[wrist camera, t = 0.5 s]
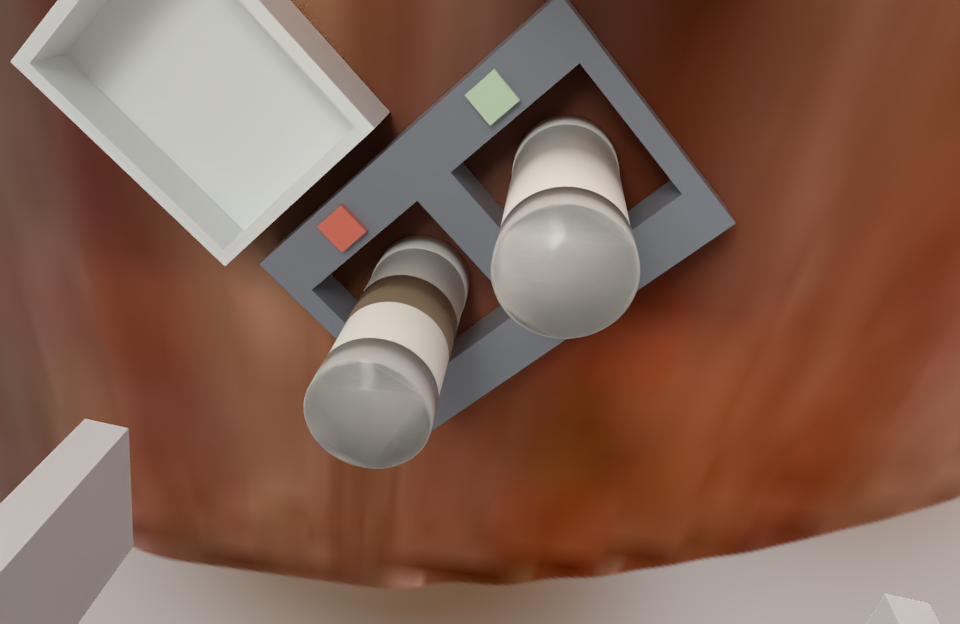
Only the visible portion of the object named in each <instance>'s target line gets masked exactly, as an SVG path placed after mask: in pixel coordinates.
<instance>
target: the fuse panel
mask: <svg viewBox="0 0 960 624" xmlns="http://www.w3.org/2000/svg"><path fill="white" fill-rule="evenodd" d="M579 63H580V64H581V66H582V67H583V68H584V69H585V71H586V72H587V73H588V74H589V76H590V77H591V78H592V80H593V81H594V82H595V83H596V85H597V86H598V87H599V89H600V90H601V91H602V92H603V94H604V95H605V96H606V98H607V99H608V100H609V101H610V103H611V104H612V105H613V107H614V108H615V109H616V110H617V112H618V113H619V114H620V115H621V117H622V118H623V119H624V121H625V122H626V123H627V124H628V126H629V127H630V128H631V130H632V131H633V132H634V133H635V135H636V136H637V137H638V139H639V140H640V141H641V142H642V144H643V145H644V146H645V147H646V149H647V150H648V151H649V153H650V154H651V155H652V156H653V158H654V159H655V160H656V162H657V163H658V164H659V165H660V167H661V168H662V169H663V171H664V172H665V173H666V174H667V176H668V177H669V178H670V181H668V182H667V183H666V184H664V185H663V186H661V187H660V188H659V189H657V190H656V191H655V192H653V193H652V194H651V195H649V196H648V197H646V198H645V199H644V200H642V201H641V202H640V203H638V204H637V205H636V206H634V207H633V208H631V209H630V210H629V211H627V212H628V217H629V221H630V226H631V228H632V231H633V234H634V237H635V242H636V246H637V251H638V256H639V261H640V280H639V285H638V289H637V291H638V290H639V289H640V288H642V287H643V286H645V285H646V284H648V283H649V282H651V281H652V280H654V279H655V278H657V277H658V276H659V275H661V274H662V273H664V272H665V271H667V270H668V269H670V268H671V267H673V266H674V265H676V264H677V263H679V262H680V261H681V260H683V259H684V258H686V257H687V256H689V255H690V254H692V253H693V252H695V251H696V250H698V249H699V248H700V247H702V246H703V245H705V244H706V243H708V242H709V241H711V240H712V239H714V238H715V237H717V236H718V235H720V234H721V233H722V232H724V231H725V230H727V229H728V228H730V227H731V226H733V225H734V224H736V223H735V221H734V220H733V218H732V216H731V214H730V213H729V211H728V209H727V207H726V205H725V204H724V203H723V201H722V200H721V199H720V197H719V196H718V195H717V193H716V192H715V191H714V189H713V188H712V187H711V186H710V184H709V183H708V182H707V180H706V179H705V178H704V176H703V175H702V174H701V172H700V171H699V170H698V169H697V167H696V166H695V165H694V163H693V162H692V161H691V159H690V158H689V157H688V155H687V154H686V153H685V151H684V150H683V149H682V148H681V146H680V145H679V144H678V142H677V141H676V140H675V138H674V137H673V136H672V134H671V133H670V132H669V131H668V129H667V128H666V127H665V125H664V124H663V123H662V121H661V120H660V119H659V117H658V116H657V115H656V113H655V112H654V111H653V110H652V108H651V107H650V106H649V104H648V103H647V102H646V100H645V99H644V98H643V96H642V95H641V94H640V93H639V91H638V90H637V89H636V87H635V86H634V85H633V83H632V82H631V81H630V79H629V78H628V77H627V75H626V74H625V73H624V72H623V70H622V69H621V68H620V66H619V65H618V64H617V62H616V61H615V60H614V58H613V57H612V56H611V55H610V53H609V52H608V51H607V49H606V48H605V47H604V45H603V44H602V43H601V41H600V40H599V39H598V37H597V36H596V35H595V34H594V32H593V31H592V30H591V28H590V27H589V26H588V24H587V23H586V22H585V20H584V19H583V18H582V17H581V15H580V14H579V13H578V11H577V10H576V9H575V7H574V6H573V5H572V3H571V2H570V1H569V0H548V1H547V2H546V3H544V4H543V5H542V6H541V7H540V8H539V9H538V10H537V11H536V12H534V13H533V14H532V15H531V16H530V17H529V18H528V19H527V20H526V21H525V22H523V23H522V24H521V25H520V26H519V27H518V28H517V29H516V30H515V31H513V32H512V33H511V34H510V35H509V36H508V37H507V38H506V39H505V40H503V41H502V42H501V43H500V44H499V45H498V46H497V47H496V48H495V49H493V50H492V51H491V52H490V53H489V54H488V55H487V56H486V57H485V58H484V59H482V60H481V61H480V62H479V63H478V64H477V65H476V66H475V67H474V68H472V69H471V70H470V71H469V72H468V73H467V74H466V75H465V76H464V77H462V78H461V79H460V80H459V81H458V82H457V83H456V84H455V85H454V86H452V87H451V88H450V89H449V90H448V91H447V92H446V93H445V94H444V95H443V96H441V97H440V98H439V99H438V100H437V101H436V102H435V103H434V104H433V105H431V106H430V107H429V108H428V109H427V110H426V111H425V112H424V113H423V114H421V115H420V116H419V117H418V118H417V119H416V120H415V121H414V122H413V123H411V124H410V125H409V126H408V127H407V128H406V129H405V130H404V131H403V132H401V133H400V134H399V135H398V136H397V137H396V138H395V139H394V140H393V141H392V142H390V143H389V144H388V145H387V146H386V147H385V148H384V149H383V150H382V151H380V152H379V153H378V154H377V155H376V156H375V157H374V158H373V159H372V160H370V161H369V162H368V163H367V164H366V165H365V166H364V167H363V168H362V169H360V170H359V171H358V172H357V173H356V174H355V175H354V176H353V177H352V178H351V179H349V180H348V181H347V182H346V183H345V184H344V185H343V186H342V187H341V188H339V189H338V190H337V191H336V192H335V193H334V194H333V195H332V196H331V197H329V198H328V199H327V200H326V201H325V202H324V203H323V204H322V205H321V206H319V207H318V208H317V209H316V210H315V211H314V212H313V213H312V214H311V215H309V216H308V217H307V218H306V219H305V220H304V221H303V222H302V223H301V224H300V225H298V226H297V227H296V228H295V229H294V230H293V231H292V232H291V233H290V234H288V235H287V236H286V237H285V238H284V239H283V240H282V241H281V242H280V243H278V244H277V245H276V247H275V248H274V249H273V250H272V251H271V252H270V253H269V254H268V255H267V256H266V258H265V259H264V260H263V261H262V262H261V263H260V264H259V265H260V266H261V267H262V268H263V269H264V270H265V271H266V272H268V273H269V274H270V275H271V276H272V277H273V278H274V279H275V280H276V281H277V282H278V283H279V284H280V285H281V286H282V287H283V288H284V289H285V290H286V291H287V292H288V293H289V294H290V295H291V296H292V297H293V298H294V299H295V300H296V301H297V302H298V303H299V304H300V305H301V306H303V307H304V308H305V309H306V310H307V311H308V312H309V313H310V314H311V315H312V316H313V317H314V318H315V319H316V320H317V321H318V322H319V323H320V324H321V325H322V326H323V327H324V328H325V329H326V330H327V331H328V332H329V333H330V334H331V335H332V336H333V337H334V338H335V339H336V340H337V338H338V336H339V334H340V332H341V331H342V328H343V326H344V324H345V322H346V321H347V319H348V317H349V315H350V313H351V312H352V310H353V308H354V306H355V304H356V303H357V301H358V300H357V299H356V298H355V297H354V296H353V295H352V294H351V293H350V292H349V291H348V290H347V289H346V288H345V287H344V286H343V285H342V284H341V283H340V282H339V281H338V280H337V279H336V278H335V277H334V276H333V275H332V274H331V273H332V272H333V271H335V270H336V269H337V268H338V267H339V266H341V265H342V264H343V263H344V262H345V261H346V260H348V259H349V258H350V257H351V256H352V255H354V254H355V253H356V252H357V251H358V250H359V249H361V248H362V247H363V246H364V245H365V244H367V243H368V242H369V241H370V240H371V239H372V238H374V237H375V236H376V235H377V234H378V233H380V232H381V231H382V230H383V229H384V228H385V227H387V226H388V225H389V224H390V223H391V222H393V221H394V220H395V219H396V218H397V217H398V216H400V215H401V214H402V213H403V212H404V211H406V210H407V209H408V208H409V207H410V206H411V205H413V204H414V203H415V202H416V201H418V202H419V203H420V204H421V205H422V206H423V208H424V209H425V210H426V211H427V212H428V213H429V214H430V215H431V216H432V217H433V218H434V220H435V221H436V222H437V223H438V224H439V225H440V226H441V227H442V228H443V229H444V230H445V232H446V233H447V234H448V235H449V236H450V237H451V238H452V239H453V240H454V241H455V242H456V244H457V245H458V246H459V247H460V248H461V249H462V250H463V251H464V252H465V253H466V254H467V256H468V257H469V258H470V259H471V260H472V261H473V262H474V263H475V264H476V265H477V266H478V268H479V269H480V270H481V271H482V272H483V273H484V274H485V275H486V276H487V277H488V278H489V280H490V281H491V261H492V256H493V251H494V247H495V242H496V238H497V235H498V232H499V229H500V227H501V222H502V218H503V213H504V209H503V208H502V207H501V205H500V204H499V203H498V202H497V201H496V200H495V199H494V198H493V196H492V195H491V194H490V193H489V192H488V191H487V190H486V188H485V187H484V186H483V185H482V184H481V183H480V182H479V180H478V179H477V178H476V177H475V176H474V175H473V174H472V172H471V171H470V170H469V169H468V168H467V167H466V166H465V164H464V163H463V161H465V160H466V159H467V158H468V157H469V156H471V155H472V154H473V153H474V152H475V151H476V150H478V149H479V148H480V147H481V146H482V145H484V144H485V143H486V142H487V141H488V140H489V139H491V138H492V137H493V136H494V135H495V134H497V133H498V132H499V131H500V130H501V129H502V128H504V127H505V126H506V125H507V124H508V123H510V122H511V121H512V120H513V119H514V118H515V117H517V116H518V115H519V114H520V113H521V112H523V111H524V110H525V109H526V108H527V107H528V106H530V105H531V104H532V103H533V102H534V101H536V100H537V99H538V98H539V97H540V96H541V95H543V94H544V93H545V92H546V91H547V90H549V89H550V88H551V87H552V86H553V85H554V84H556V83H557V82H558V81H559V80H560V79H562V78H563V77H564V76H565V75H566V74H567V73H569V72H570V71H571V70H572V69H573V68H575V67H576V66H577V65H578V64H579ZM491 282H492V281H491ZM564 340H566V339H558V338H551V337H546V336H542V335H539V334H536V333H534V332H531V331H529V330H527V329H526V328H524V327H522V326H521V325H519V324H518V323H517V322H515V321H514V320H513V319H512V318H511V317H510V316H509V315H508V314H507V313H506V312H505V310H504V309H503V308H502V306H501V305H499V306H498V307H497V308H495V309H494V310H493V311H491V312H490V313H488V314H487V315H486V316H484V317H483V318H482V319H480V320H479V321H478V322H476V323H475V324H473V325H472V326H471V327H469V328H468V329H467V330H465V331H464V332H463V333H461V334H460V335H458V336H457V337H456V338H455V341H454V345H453V348H452V352H451V356H450V360H449V363H448V367H447V370H446V372H445V376H444V380H443V384H442V387H441V391H440V395H439V400H438V407H437V411H436V414H435V418H434V422H433V426H432V429H431V431H433V430H434V429H436V428H437V427H438V426H440V425H441V424H443V423H444V422H446V421H447V420H449V419H450V418H452V417H453V416H455V415H456V414H457V413H459V412H460V411H462V410H463V409H465V408H466V407H468V406H469V405H471V404H472V403H474V402H475V401H477V400H478V399H479V398H481V397H482V396H484V395H485V394H487V393H488V392H490V391H491V390H493V389H494V388H496V387H497V386H498V385H500V384H501V383H503V382H504V381H506V380H507V379H509V378H510V377H512V376H513V375H515V374H516V373H517V372H519V371H520V370H522V369H523V368H525V367H526V366H528V365H529V364H531V363H532V362H534V361H535V360H537V359H538V358H539V357H541V356H542V355H544V354H545V353H547V352H548V351H550V350H551V349H553V348H554V347H556V346H557V345H558V344H560V343H561V342H563V341H564Z"/></svg>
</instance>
